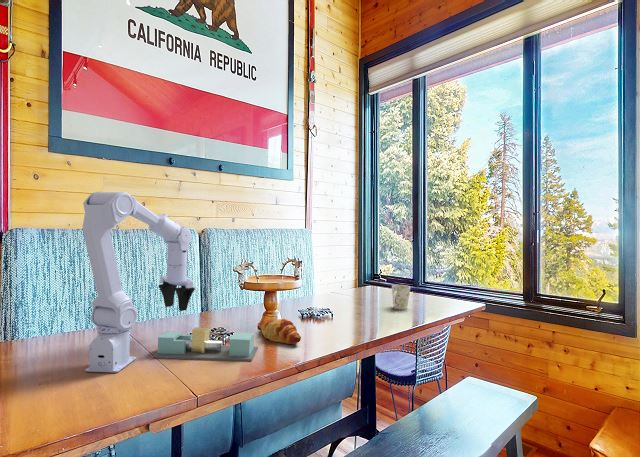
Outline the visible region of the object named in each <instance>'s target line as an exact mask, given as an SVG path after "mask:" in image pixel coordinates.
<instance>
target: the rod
mask: <svg viewBox="0 0 640 457" xmlns="http://www.w3.org/2000/svg"><path fill="white" fill-rule="evenodd" d="M210 329H211V328H210V326H206V327H196V326H195V327H194V328H192V330H191V335H192V340H186V350H192V352H201V353H205V352H206V351H222V348H223V346H224V342H223V340H211V339H210V335H211V334H210V333H211V332H210ZM175 340H182V339H175Z"/></svg>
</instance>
